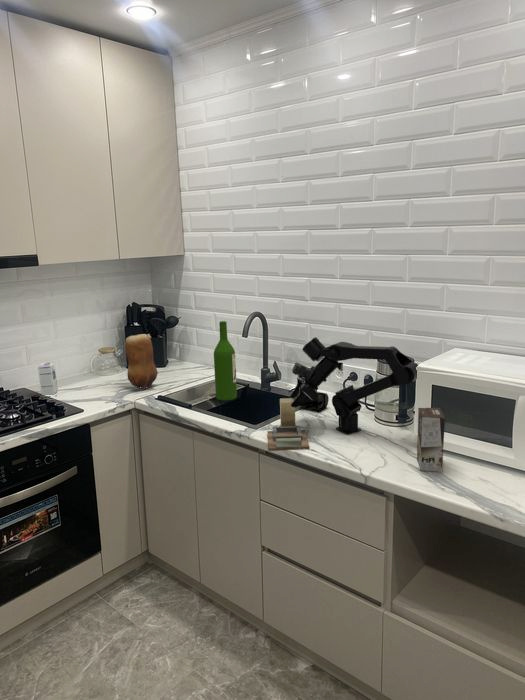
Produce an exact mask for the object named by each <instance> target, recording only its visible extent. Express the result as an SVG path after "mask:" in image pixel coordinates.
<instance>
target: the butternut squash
mask: <svg viewBox="0 0 525 700" xmlns="http://www.w3.org/2000/svg"><path fill="white" fill-rule="evenodd" d="M124 347H125V354H126V358H127V360H128V368H127V379H128V382H129V383H131V385H132V386H133V387H136V388H137V389H147V388H146V387H149V386H150V387H151V386H152V384H153V383H154V382H155V381H156V379H157V377H158V373H159V371H158V369H157V366H156V364H155V362H154V359H155V358H154V347H153V341H152V340H151V337H150V335H148V334H146V333H142V334H140V333H139V334H135V335H129V336H128V337H126V339H125V343H124ZM140 387H141V388H140ZM150 387H149V388H150Z"/></svg>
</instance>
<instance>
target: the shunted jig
mask: <svg viewBox="0 0 525 700" xmlns="http://www.w3.org/2000/svg"><path fill="white" fill-rule="evenodd" d="M307 435H308V434H307V431H306V429H302V428H301V426H300V425H295V426H287V427H281V426H273V427H272V430H267V443H268V445H267V446H268V451H287V450H289V451H291V450H293V451H294V450H310V443H309V439H308V436H307Z"/></svg>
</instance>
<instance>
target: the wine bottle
mask: <svg viewBox="0 0 525 700" xmlns="http://www.w3.org/2000/svg"><path fill="white" fill-rule="evenodd" d="M213 363H214V364H213V365H214V366H213V369H214V384H215V385H214V387H215V398H216V400H218V401H224V402H225V401H233V400H235V399H237V396H238V388H237V365H236V363H237V362H236V351H235V348H234V347H233V345H232V344H231V342H230V341H229V339H228V325H227V321H225V320H224V321H223V320H222V321H219V341H218V342H217V344H216V346H215V348H214V351H213Z"/></svg>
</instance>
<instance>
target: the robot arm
mask: <svg viewBox="0 0 525 700" xmlns="http://www.w3.org/2000/svg"><path fill="white" fill-rule="evenodd" d="M302 352H303V353H304V354H305V355H306V356H307V357H308V358H309V359H310V360H311V361H312V362H318V363H317V364H316V365H315V366H314V365H311V367H307V366H306V365H303V364H301V363H298V362H294V365H293V367H292V369H291V371H292V372H291V373H292V374H294V375H295V376H297V377H296V385H295V387H294V389H293V390H292V392H291V394H290V396H289V398H294V401H293V403H292V404H291V406H292V407H295V408H296V407H298V406H299V405H301V404H304V403H307V402H310V401H315V400H316V399H317V398H318V392H319V391H318V390H319V387H320V385H322V384H323V382H324V383H326V382H327V380H328V379H327V378H329V376H331V374H332V373H334V372H335V370H336V369H337V370H339V371H341V372H342V371H344V368H343V367H344V363H343V362H340V361H347V360H352V359H361V360H362V359H363V360H380V361H385V362H386V363H387V365H388V366H389V368H390V370H391V371H392V373H390V374H388V375H386V376H383V377H381V378H379V379H376V380H374V381H372V382H370V383H367V384H364V385H363V386H360V387H356V388H355V387H354V385H353V384H351V385H349V386H347V387H344V388H342V389H340V390H338V391H335V392H334V395H333V396H332V398H331V404H332V406H333V408H334V412H335V414H336V416H338V426H337V427H335V430H336V431H339V432H341V433H343V434H346V435H351V434H355V433H357V432H358V433H359V432H361V431H362V428H360V427H359V414H358V412H361V409H362V406H363V405H362V404H361V403H360V402H359V401H360V400H362V399H364V398H366V397H369V396H372V395H374V394H376V393H379V392H382V391H384V390H387V389H389V388H392V387H400V386H405V385H410V384H411V383H413V382H415V381H416V380H418V379H417V370H416V367H417V366H418V365H419V364H418V363H416V362H414V361H413V360H412V359H411V358H410V357H409V356H407V355H406V354H405V353H402V352H401V351H400V350H399V349H398V348H397V347H395V346H393V345H392V346H391V345H390V346H372V345H371V346H369V345H367V346H366V345H356V344H353V343H350V342H347V341H339V342H337V343H334V344H333V343H332V344H330V345H329V346H327V347H326V346H325V345H324V344H323V343H322V342H321V341H320V339H319V338H318V337H313V338H312V339H311V340H309V342H307V343H306V344H304V346H303V347H302Z"/></svg>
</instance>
